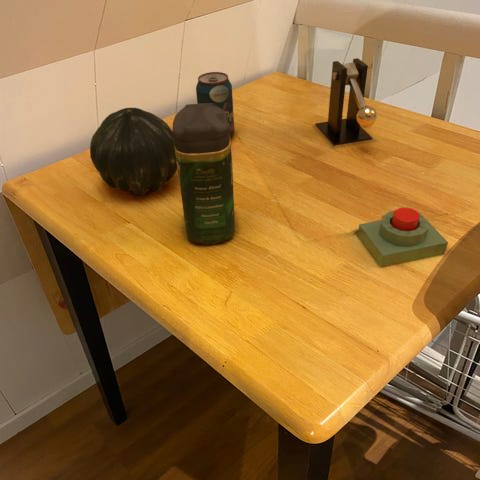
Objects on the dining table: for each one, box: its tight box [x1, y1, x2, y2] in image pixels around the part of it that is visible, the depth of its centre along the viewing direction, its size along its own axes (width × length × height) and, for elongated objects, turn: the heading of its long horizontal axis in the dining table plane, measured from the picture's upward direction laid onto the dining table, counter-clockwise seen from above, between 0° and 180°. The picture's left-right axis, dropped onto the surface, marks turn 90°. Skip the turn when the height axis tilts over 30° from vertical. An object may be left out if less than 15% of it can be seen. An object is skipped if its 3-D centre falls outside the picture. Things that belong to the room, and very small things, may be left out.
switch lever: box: [342, 61, 378, 129], centre depth 88 cm, size 13×4×4 cm, turn 14°
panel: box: [357, 210, 449, 268], centre depth 71 cm, size 10×8×4 cm
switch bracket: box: [315, 57, 373, 147], centre depth 93 cm, size 10×8×14 cm
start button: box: [392, 207, 420, 231], centre depth 69 cm, size 4×4×2 cm
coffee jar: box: [171, 103, 236, 245], centre depth 71 cm, size 10×8×19 cm
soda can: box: [195, 71, 235, 141], centre depth 96 cm, size 7×7×12 cm
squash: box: [89, 107, 178, 197], centre depth 84 cm, size 14×15×15 cm
